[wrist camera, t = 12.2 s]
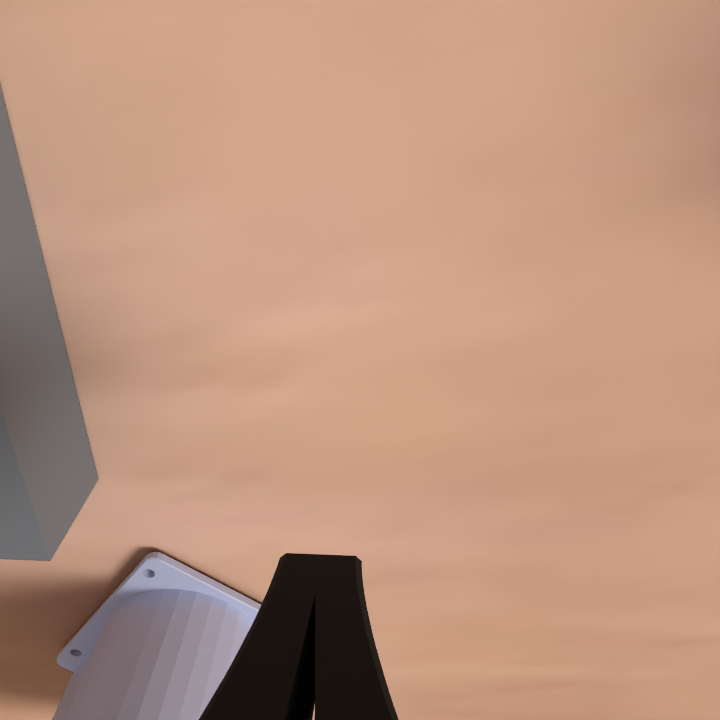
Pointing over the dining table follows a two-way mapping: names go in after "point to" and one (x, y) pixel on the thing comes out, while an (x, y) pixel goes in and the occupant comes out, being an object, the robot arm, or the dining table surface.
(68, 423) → the block
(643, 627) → the dining table surface
